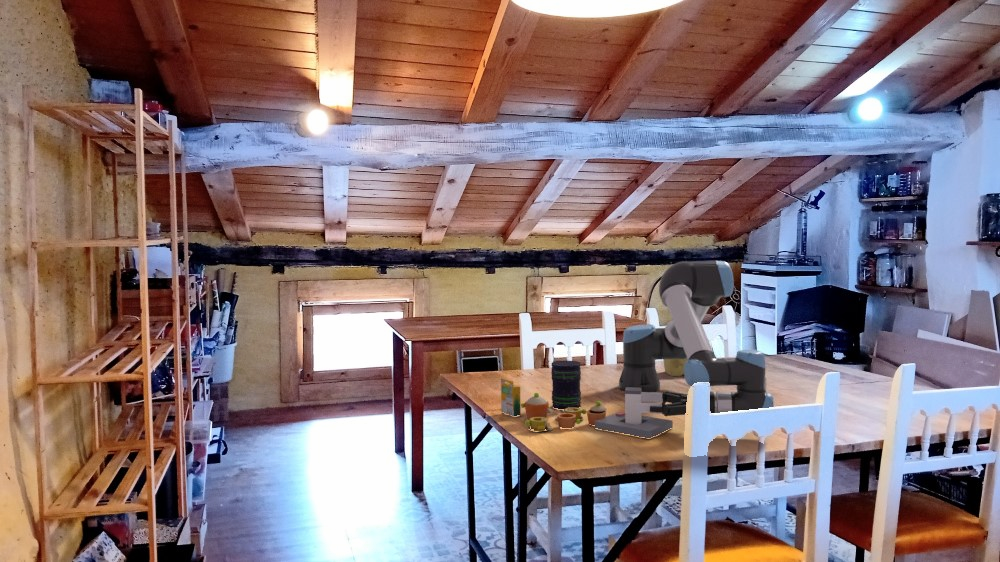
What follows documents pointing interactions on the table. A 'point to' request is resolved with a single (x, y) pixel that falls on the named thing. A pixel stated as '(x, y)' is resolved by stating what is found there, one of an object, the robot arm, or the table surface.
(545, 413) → the toy tea set
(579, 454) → the table surface
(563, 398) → the storage jar
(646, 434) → the socket
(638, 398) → the plug
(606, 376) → the table surface
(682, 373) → the cheese
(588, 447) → the table surface
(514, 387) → the crayon box
